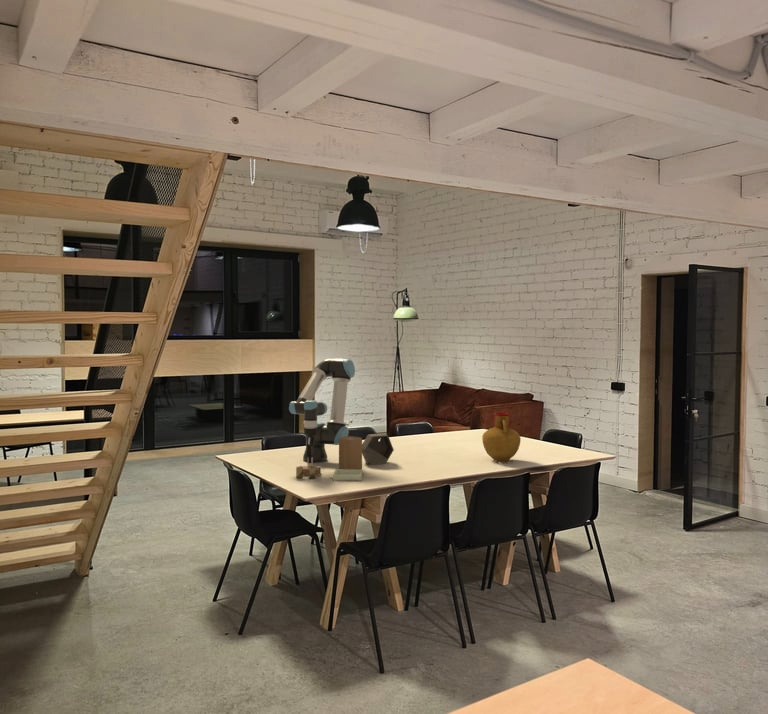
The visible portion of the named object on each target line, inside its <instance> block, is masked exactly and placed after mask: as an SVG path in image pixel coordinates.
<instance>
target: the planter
mask: <svg viewBox="0 0 768 714" xmlns="http://www.w3.org/2000/svg"><path fill="white" fill-rule="evenodd" d="M394 450H395V449H394V447H393V445H392V441H391V439H390V437H389V435H387V434H385V433H373V434H372V433H370V434H367V435H366V437H365V439H364V441H362V458H363V459H364V461H365V463H366V464H368V465H370V466H375V465H376V466H377V465H386V464H387V463H388V461H389V459H390V457H391V455H392V454H393V453H394Z"/></svg>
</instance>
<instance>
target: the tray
mask: <svg viewBox="0 0 768 714" xmlns="http://www.w3.org/2000/svg"><path fill="white" fill-rule="evenodd" d="M363 471H364V469H362V470H353V469H339V468H338V469H337V468H335V470H334V472H333V474H332V481H334V480H351V481H350V482H361V481H362V479H361V478H363V476H364V472H363Z"/></svg>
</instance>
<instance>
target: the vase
mask: <svg viewBox="0 0 768 714" xmlns="http://www.w3.org/2000/svg"><path fill="white" fill-rule="evenodd" d="M509 416H510V413H508V412H494V427H490V428H489V429H488V430H486V431H485V432H483V434H482V440H481V441H482V445H483V448H484V450H485V452H486V454H487V455H488V456H489V457H490V458H491V459H492V460H493V461H495V462H498V463H499V462H500V463H506V462H509V460H510V459H512V458H514V456H515V455H516V454H517V453H518V451H519V448H520V445H521V435H520V434H519V433H518V432H517V431H516V430H515V429H512V428H511V427H509V422H510V421H509V418H510V417H509Z"/></svg>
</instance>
